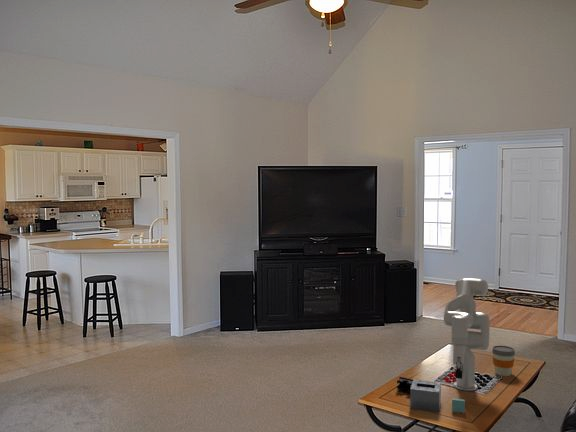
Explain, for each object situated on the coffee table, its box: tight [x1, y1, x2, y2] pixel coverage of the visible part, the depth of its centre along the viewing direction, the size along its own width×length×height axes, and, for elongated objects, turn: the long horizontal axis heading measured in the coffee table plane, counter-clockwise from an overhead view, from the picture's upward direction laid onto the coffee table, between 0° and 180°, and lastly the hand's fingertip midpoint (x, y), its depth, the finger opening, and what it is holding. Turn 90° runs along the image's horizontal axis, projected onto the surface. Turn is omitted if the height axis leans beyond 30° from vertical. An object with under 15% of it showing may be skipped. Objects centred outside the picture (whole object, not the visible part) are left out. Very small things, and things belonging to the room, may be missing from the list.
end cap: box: [396, 376, 413, 395], centre depth 290 cm, size 10×7×7 cm
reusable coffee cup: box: [491, 345, 516, 377], centre depth 317 cm, size 12×13×15 cm
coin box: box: [409, 378, 442, 413], centre depth 271 cm, size 14×14×10 cm
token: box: [451, 398, 466, 414], centre depth 263 cm, size 2×6×6 cm, turn 71°
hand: (458, 374), depth 262 cm, fingers open, 9 cm apart
